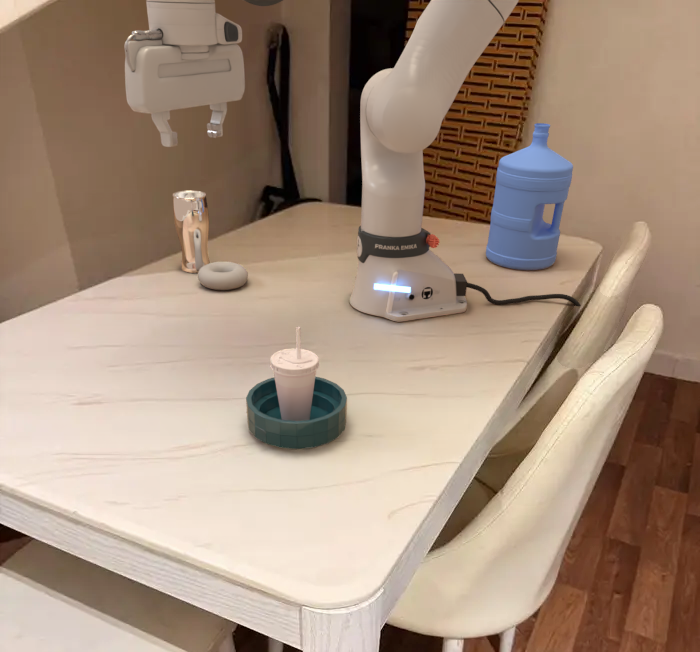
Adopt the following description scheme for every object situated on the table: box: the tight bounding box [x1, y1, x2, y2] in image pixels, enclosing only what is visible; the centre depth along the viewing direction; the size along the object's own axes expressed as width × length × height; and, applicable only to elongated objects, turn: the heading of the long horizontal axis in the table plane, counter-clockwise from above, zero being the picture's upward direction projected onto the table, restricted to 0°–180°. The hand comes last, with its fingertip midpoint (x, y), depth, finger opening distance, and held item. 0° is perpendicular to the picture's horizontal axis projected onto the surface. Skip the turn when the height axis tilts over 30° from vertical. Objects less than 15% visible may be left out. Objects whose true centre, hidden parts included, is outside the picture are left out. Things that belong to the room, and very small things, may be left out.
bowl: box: [245, 376, 348, 450], centre depth 95 cm, size 13×13×4 cm
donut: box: [197, 260, 249, 291], centre depth 140 cm, size 10×4×10 cm
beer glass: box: [172, 189, 211, 274], centre depth 144 cm, size 7×7×15 cm
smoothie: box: [269, 326, 320, 421], centre depth 92 cm, size 6×6×14 cm
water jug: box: [485, 122, 574, 271], centre depth 151 cm, size 16×16×28 cm
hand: (193, 141), depth 101 cm, fingers open, 8 cm apart
